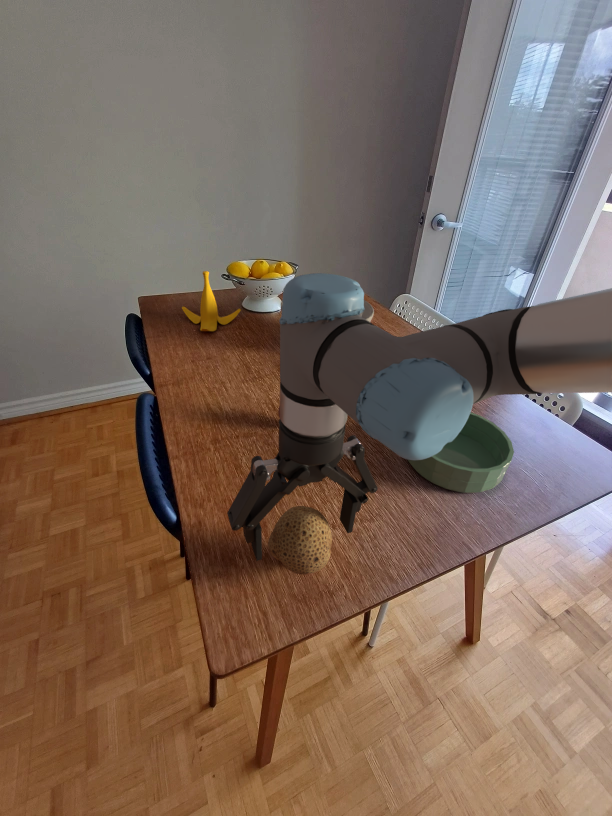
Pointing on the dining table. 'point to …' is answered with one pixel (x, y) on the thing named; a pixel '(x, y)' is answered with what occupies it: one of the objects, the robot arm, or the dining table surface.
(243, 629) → the dining table surface
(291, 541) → the natural sponge
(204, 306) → the banana peel
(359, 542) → the dining table surface
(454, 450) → the green bowl
